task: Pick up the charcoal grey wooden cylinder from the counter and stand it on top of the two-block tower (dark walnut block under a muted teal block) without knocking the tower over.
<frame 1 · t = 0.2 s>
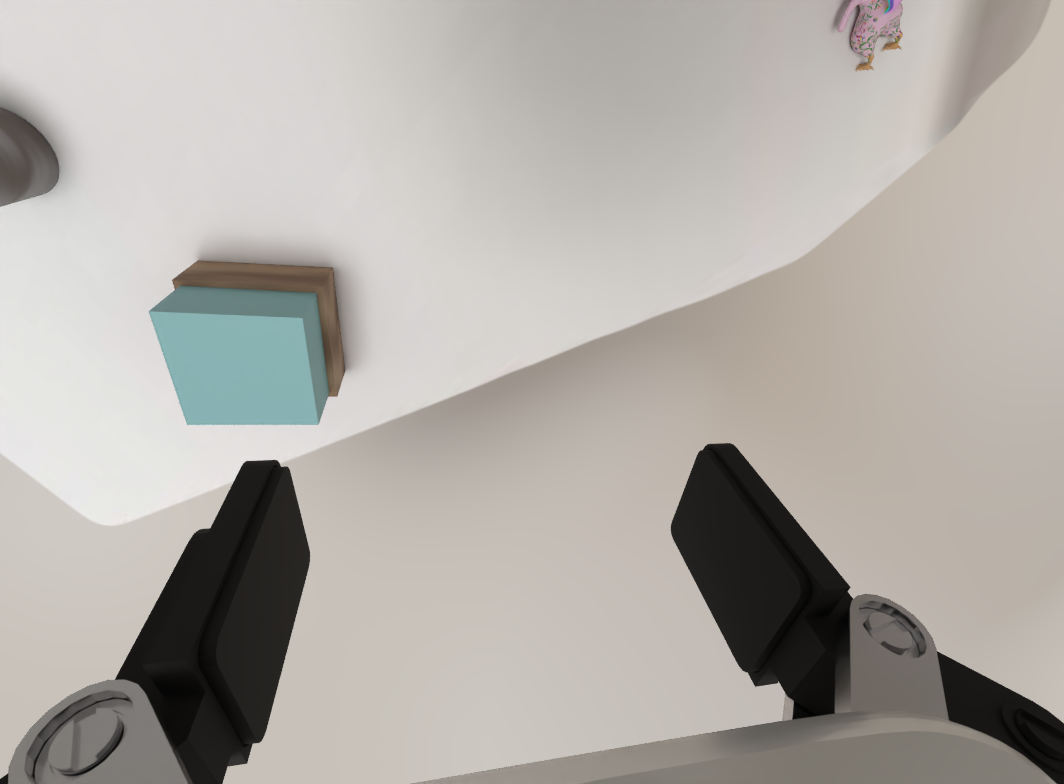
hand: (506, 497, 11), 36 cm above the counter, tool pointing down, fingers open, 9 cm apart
charcoal cylinder: (7, 152, 34), on the counter
walnut base block: (278, 319, 45), on the counter, touching teal top block
teal top block: (261, 344, 41), point 5 cm above the counter, touching walnut base block
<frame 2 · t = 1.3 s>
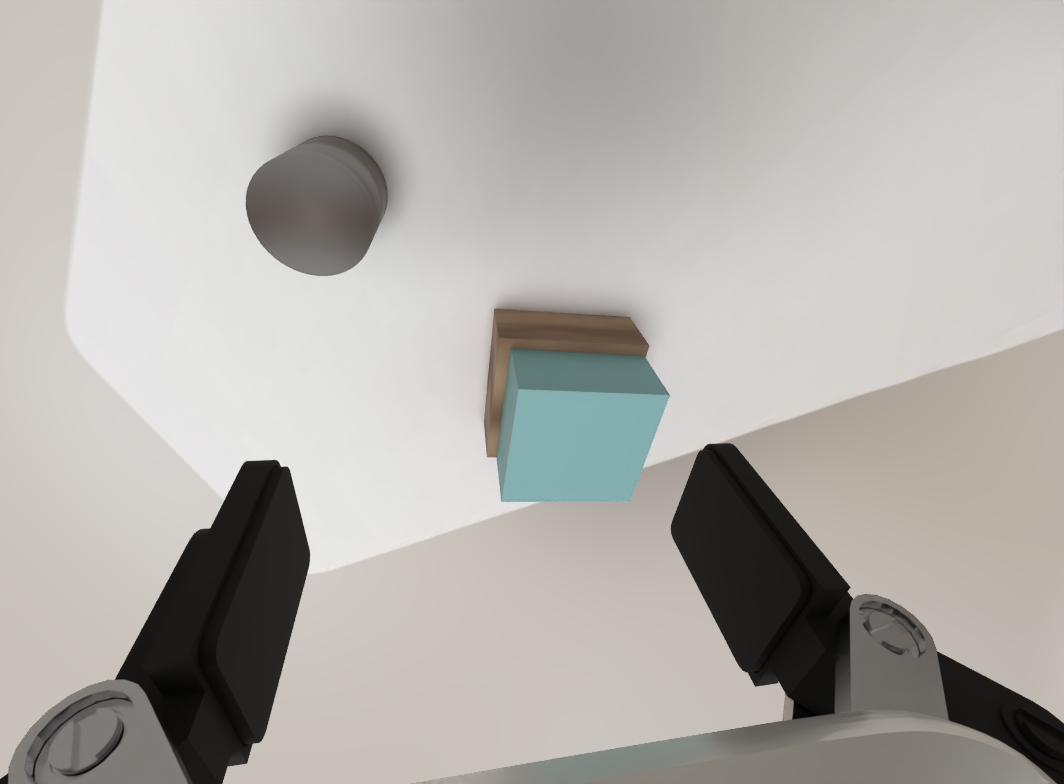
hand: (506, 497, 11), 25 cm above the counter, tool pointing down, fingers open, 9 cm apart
charcoal cylinder: (338, 189, 30), on the counter
walnut base block: (552, 370, 40), on the counter
teal top block: (566, 408, 36), point 5 cm above the counter
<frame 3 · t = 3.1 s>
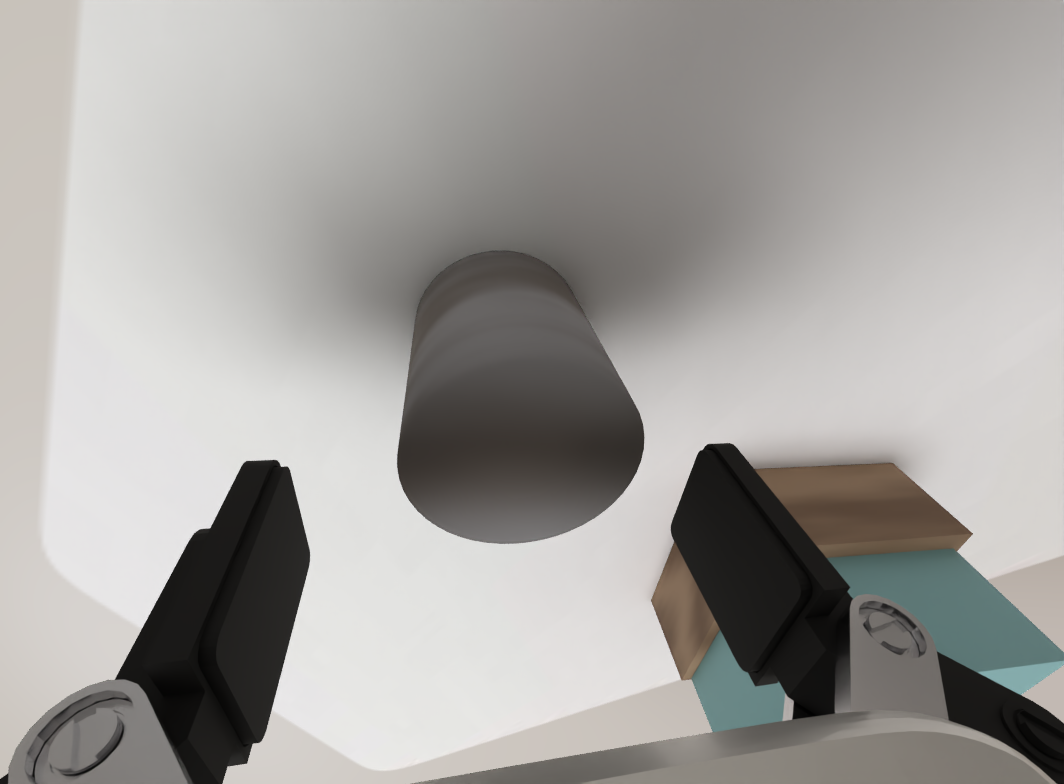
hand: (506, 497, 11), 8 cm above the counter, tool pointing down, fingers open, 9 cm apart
charcoal cylinder: (499, 332, 17), on the counter
walnut base block: (759, 532, 27), on the counter, touching teal top block
teal top block: (811, 618, 23), point 5 cm above the counter, touching walnut base block
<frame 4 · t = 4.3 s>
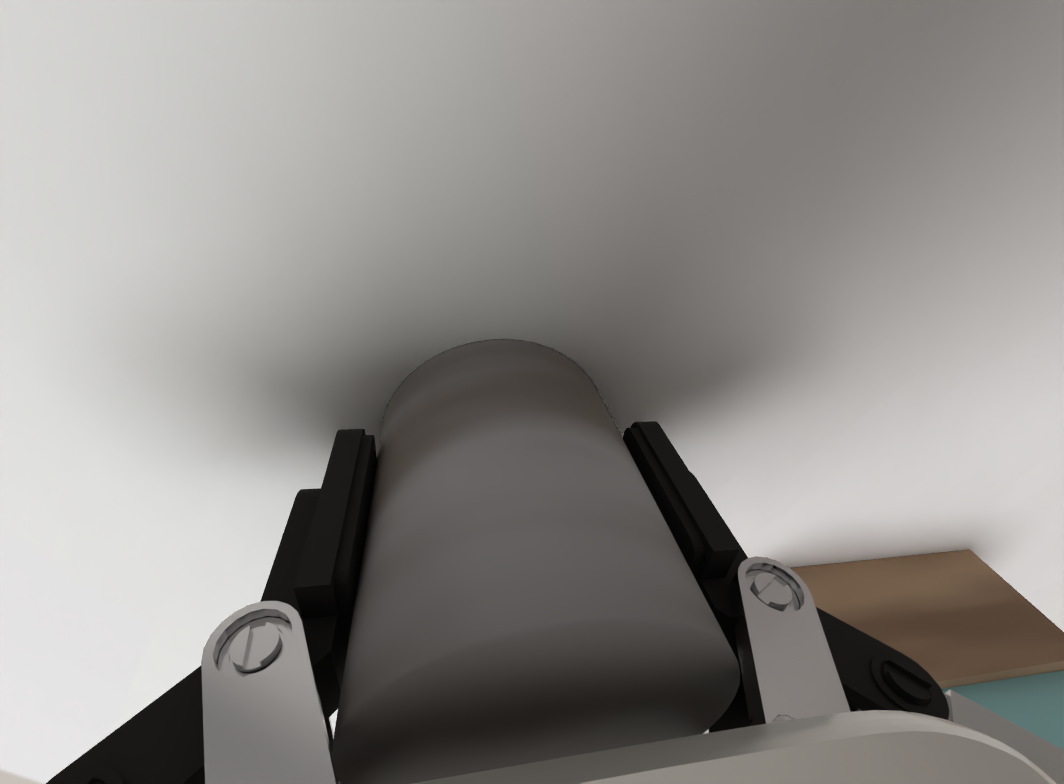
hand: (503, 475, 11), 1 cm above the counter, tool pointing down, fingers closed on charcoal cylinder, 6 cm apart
charcoal cylinder: (497, 438, 13), on the counter, touching gripper
walnut base block: (806, 626, 23), on the counter
teal top block: (886, 747, 19), point 5 cm above the counter
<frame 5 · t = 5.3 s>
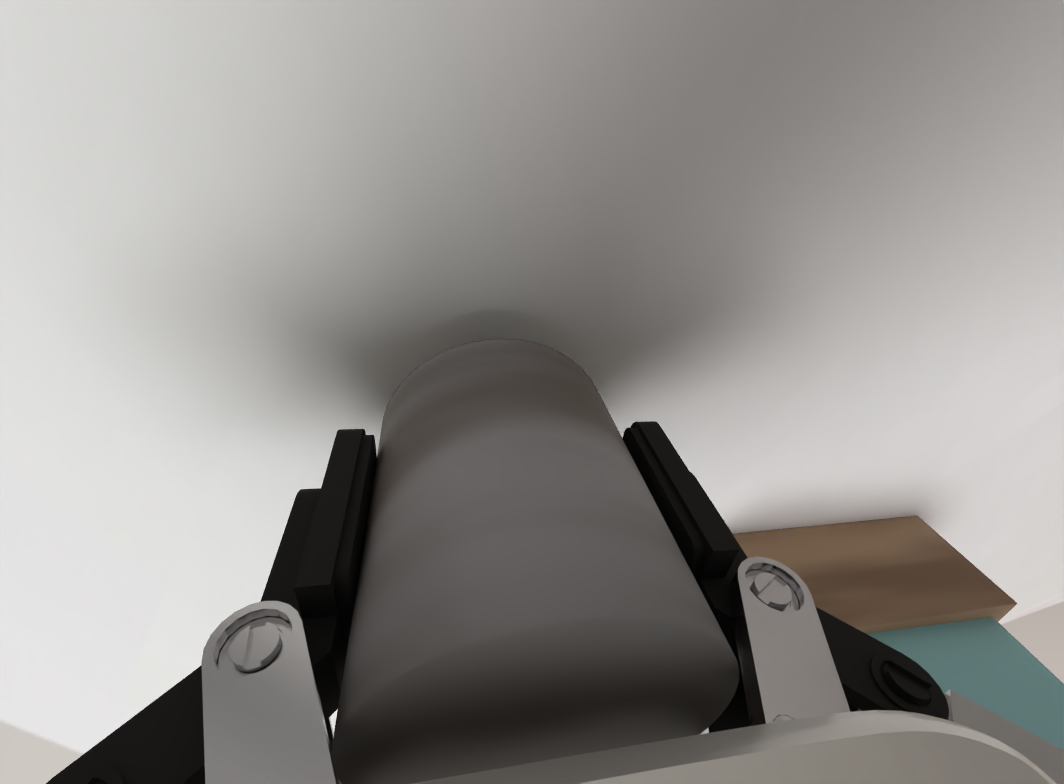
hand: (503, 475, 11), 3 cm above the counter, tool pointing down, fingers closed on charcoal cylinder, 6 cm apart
charcoal cylinder: (496, 437, 13), point 2 cm above the counter, touching gripper
walnut base block: (772, 591, 25), on the counter, touching teal top block
teal top block: (833, 695, 21), point 5 cm above the counter, touching walnut base block
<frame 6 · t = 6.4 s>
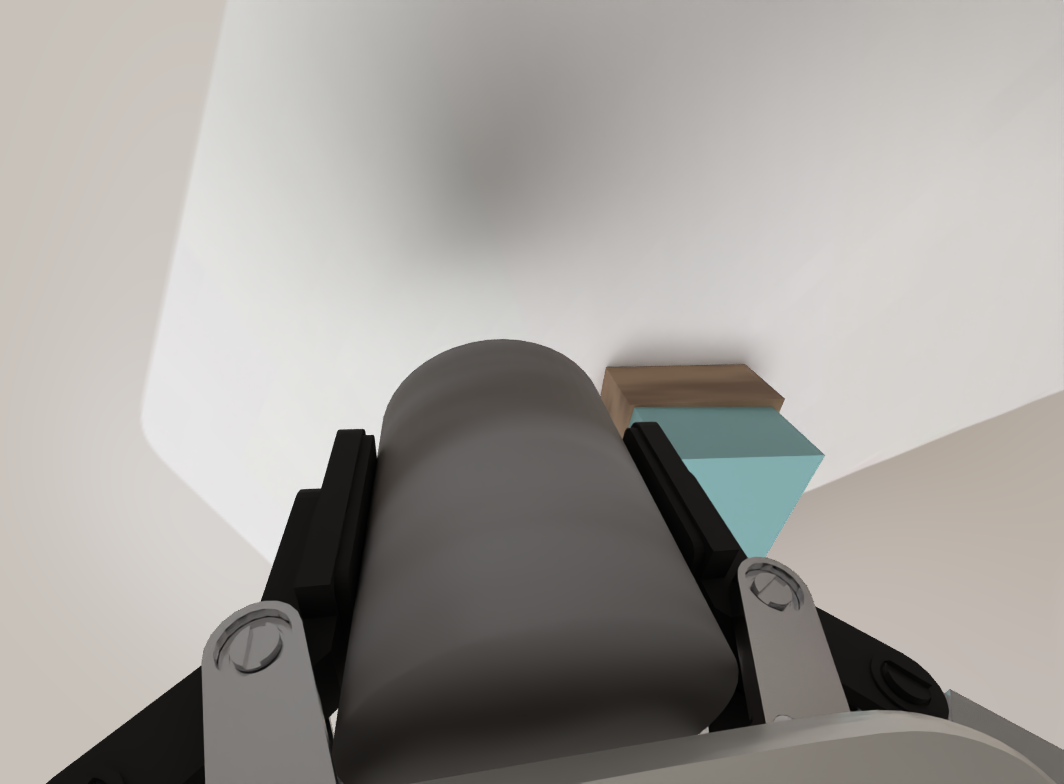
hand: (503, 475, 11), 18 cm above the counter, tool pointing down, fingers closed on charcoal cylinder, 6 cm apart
charcoal cylinder: (496, 437, 13), point 17 cm above the counter, touching gripper
walnut base block: (658, 424, 37), on the counter, touching teal top block
teal top block: (682, 465, 33), point 5 cm above the counter, touching walnut base block
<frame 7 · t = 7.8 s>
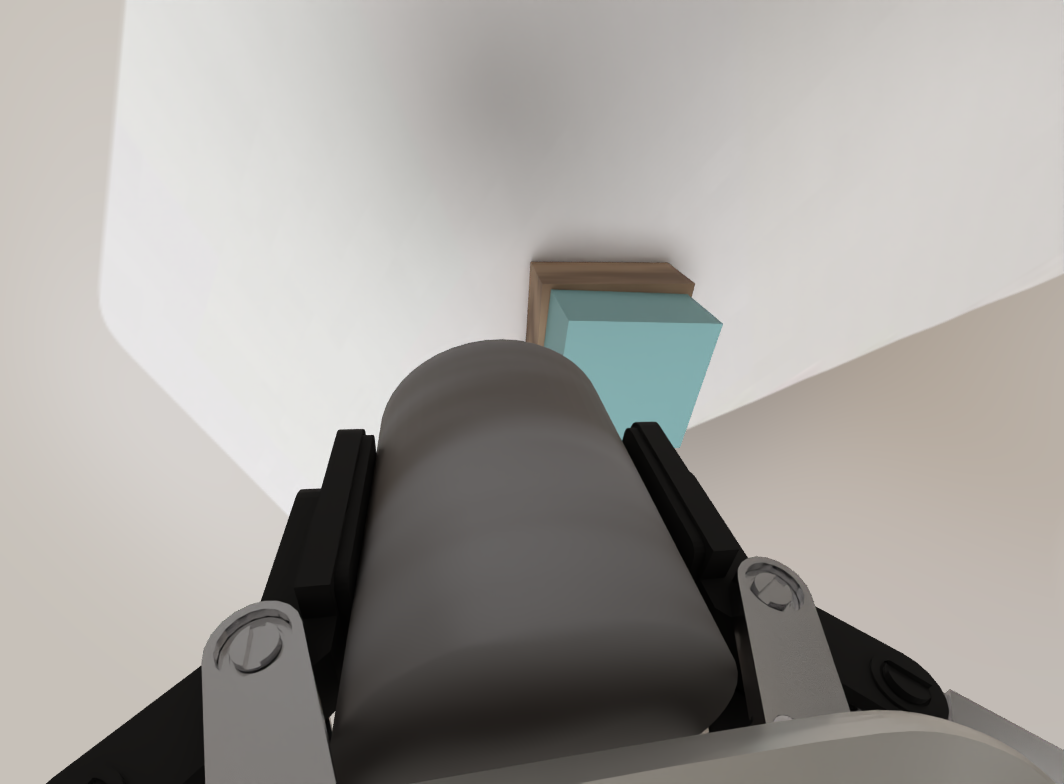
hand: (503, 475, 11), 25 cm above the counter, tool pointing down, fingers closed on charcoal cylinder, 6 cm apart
charcoal cylinder: (495, 438, 13), point 24 cm above the counter, touching gripper
walnut base block: (590, 326, 39), on the counter, touching teal top block
teal top block: (607, 355, 35), point 5 cm above the counter, touching walnut base block
when the fingers open (13 cm above the counter, at t = 11.5 s): charcoal cylinder drops 2 cm, resting on teal top block.
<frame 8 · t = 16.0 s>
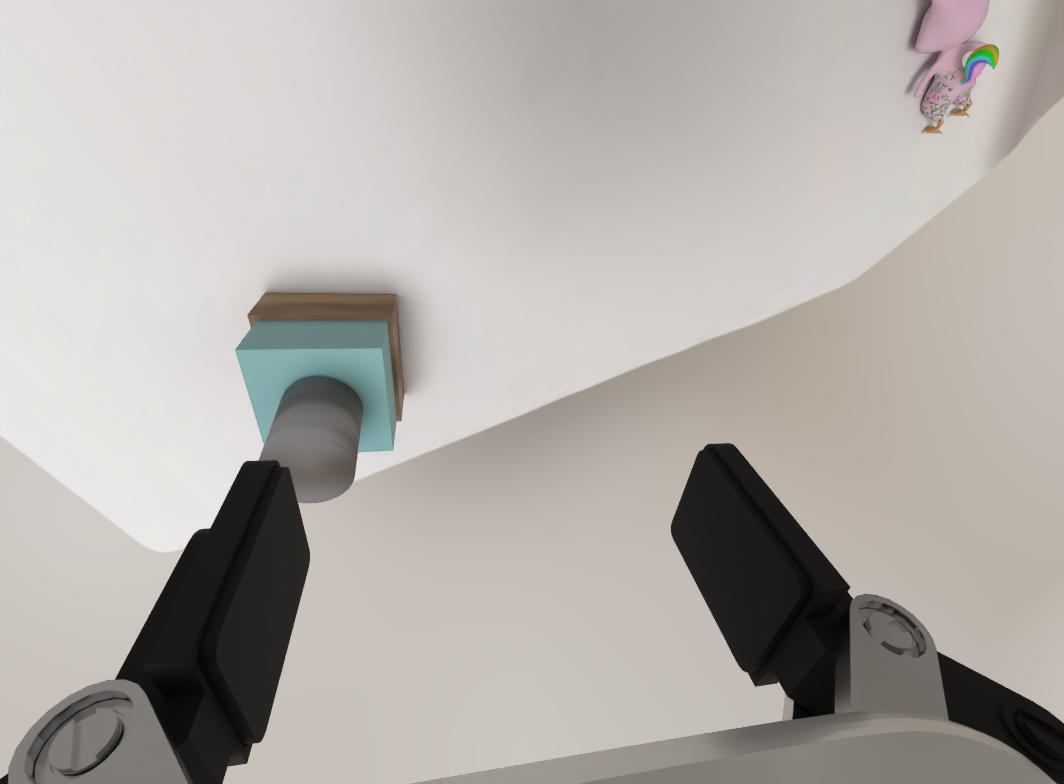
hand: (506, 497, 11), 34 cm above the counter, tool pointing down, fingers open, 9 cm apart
charcoal cylinder: (322, 408, 37), point 10 cm above the counter, touching teal top block
walnut base block: (341, 346, 45), on the counter, touching teal top block
pink patterned figure: (929, 38, 39), on the counter
teal top block: (333, 372, 41), point 5 cm above the counter, touching charcoal cylinder, walnut base block
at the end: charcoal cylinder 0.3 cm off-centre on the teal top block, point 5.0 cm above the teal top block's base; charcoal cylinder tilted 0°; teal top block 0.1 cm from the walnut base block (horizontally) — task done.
